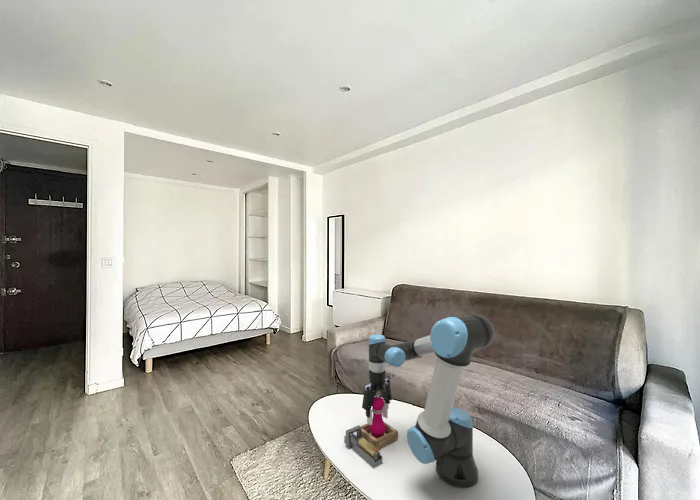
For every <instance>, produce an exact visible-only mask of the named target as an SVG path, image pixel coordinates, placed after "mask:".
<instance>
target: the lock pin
mask: <svg viewBox="0 0 700 500" xmlns="http://www.w3.org/2000/svg"><path fill="white" fill-rule="evenodd" d="M359 447H360V448H361V449H362V450H363V451H365V452H366V453H367V454H368V455H369V456H371V457H372V458H373V459H374V460H375V459H376V460H378V459H379V458H380V455H381V452H380V451H379V450H378V449H377V448H376V447H374V446H373V445H372V444H370V443H369V442H368V441H367V440H365V439H364V438H361V439H359Z"/></svg>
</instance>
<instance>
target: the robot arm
mask: <svg viewBox="0 0 700 500" xmlns="http://www.w3.org/2000/svg"><path fill="white" fill-rule="evenodd" d="M494 338H495V328H494V326H493V324H492V323H491V321H490V320H489V319H487V318H486V317H485V316H483V315H480V314H477V313H475V314H474V313H469V314H465V315H461V316H449V317H446V318H443V319H440V320H438V321H436V322H435V323H434V324H433V326H432V328H431V331H430V334H429V335H426V336H423V337H420V338H418V339H417V338H416V339H414V340H411V341H406V342H401V343H395V344H389V343H387V340H386V336H385V335H383V334H378V333H377V334H371V335H369V337H368V369H369V370H368V379H369V383H368V384H364V386H363V391H364V392H363V397H362V404H361V405H362V406H361V408H362V409H363V410H364V411H365V417H366V424H367V423H368V424H370V425H372V418H373V412H372V403H373V400H374V397H376V394H378V392H380V393H379V394H381V398H382V399H383V400H384V407H383V413H382V418H385V419H388V417H389V416H388V414H389V411H388V410H389V405H390V403H391V401H392V399H393V397H392V391H391V385H390V384H391V380H390V379H389V378H387V375H386V373H387V372H386V367H387V365H386V364H388V365H389V366H391V367H392V366H393V367H395V368H399V367H401V366H403V364H405V362H406V361H407V362H408V361H411V360H416V359H420V358H423V357H426V356H432V355H435V357H436V361H435V366H434V369H433V374H432V377H431V382H430V385H429V391H428V393H427V397H426V402H425V405H424V410H423V411H421V412H420V413H419V414H418V416H417V420H416V422H415V425H413V426H410V427H409V428H408V430H407V431H406V441H407V444H408V446H409V449H410V451H411V453H412V454H413V456H414V457H415V459H416V460H417V461H418V462H419V463H421V464H423V465H428V464H430V463H434V462H435V472H436V474H437V476H438V477H439V478H440V479H441V480H442V481H443V482H445V483H446V484H448V485H450V486H452V487H457V488H469V487H473V486H475V484H477V482H478V480H479V471H478V467H477V464H476V461H475V458H474V452H473V451H474V450H473V449H474V448H473V444H474V443H473V440H474V439H473V435H474V433H473V431H474V425H473V419H472V416H471V415H470V414H469V413H468V412H467V411H465V410H464V409H461V408H458V407H454V404H455V400H456V396H457V393H458V389H459V385H460V382H461V379H462V374H463V370H464V368H466V367H468V366H470V364H471V361H472V358H473V354H474V352H476V351H481V350H483V349H486V348H487V347H490V345H491V344H492V343H493V340H494Z"/></svg>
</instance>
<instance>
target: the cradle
mask: <svg viewBox="0 0 700 500" xmlns="http://www.w3.org/2000/svg"><path fill="white" fill-rule="evenodd" d="M384 424H385V427H386V431H385V433H384V434H385V435H383V436H381V437H379V438H377V439H376V438H375V437H373V436H372V435H371V432H370V424H368V423H367V422H366V423H365V424H362V425H360V426H361V428H362V438H364V439H365V440H367V441H368V442H369V443H370V444H372V445H373V446H374V447H376V448H377V449H378V450H382V449H383V448H386V447H387V446H389V445H392V444H394V443H396V442H397V441H399V431H398V430H397V429H396V428H394V427H393V426H391V425H390V424H389V423H386V422H385V421H384Z"/></svg>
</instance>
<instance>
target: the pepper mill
mask: <svg viewBox="0 0 700 500" xmlns="http://www.w3.org/2000/svg"><path fill="white" fill-rule="evenodd" d="M383 407H384V400H383V397H382V396H380V393H376V395H375V397H374V400H373V403H372V407H371V409H372V425H370V432H371V433H370V434H371V435H372V436H373V437H375V438H376V439H377V438H379V437H381V436H383V435H386V434H385V431H386V427H385V424H384V422H385V421H384V419H383V416H382V413H383Z"/></svg>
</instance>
